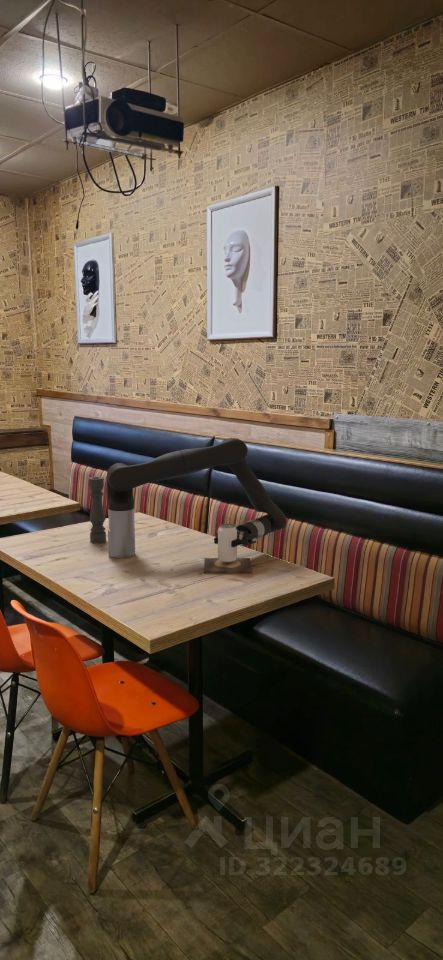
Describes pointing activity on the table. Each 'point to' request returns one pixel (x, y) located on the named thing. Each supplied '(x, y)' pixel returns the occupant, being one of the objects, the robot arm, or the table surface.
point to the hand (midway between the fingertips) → (223, 542)
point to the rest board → (227, 566)
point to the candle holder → (97, 510)
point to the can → (227, 542)
